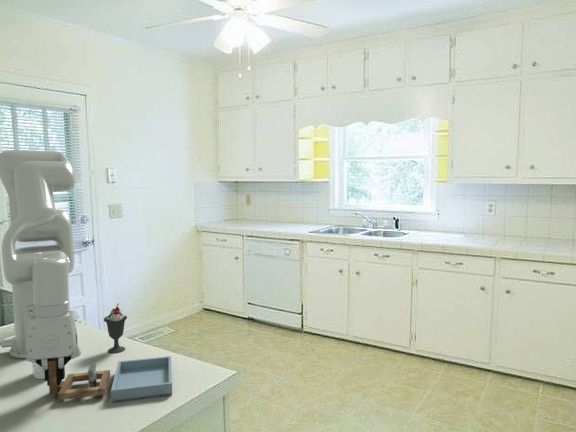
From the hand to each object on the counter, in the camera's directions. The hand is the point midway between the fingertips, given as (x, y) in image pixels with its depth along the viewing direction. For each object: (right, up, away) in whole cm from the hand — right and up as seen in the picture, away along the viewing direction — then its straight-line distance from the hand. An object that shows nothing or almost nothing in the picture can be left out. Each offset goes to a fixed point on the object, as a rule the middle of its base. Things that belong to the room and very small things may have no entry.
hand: (55, 382), depth 105 cm
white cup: (-8, -2, +11) cm, 14 cm away
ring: (+5, -2, +2) cm, 6 cm away
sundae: (+4, -1, +27) cm, 27 cm away
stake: (+8, -3, +2) cm, 9 cm away
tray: (+19, -3, +6) cm, 21 cm away
